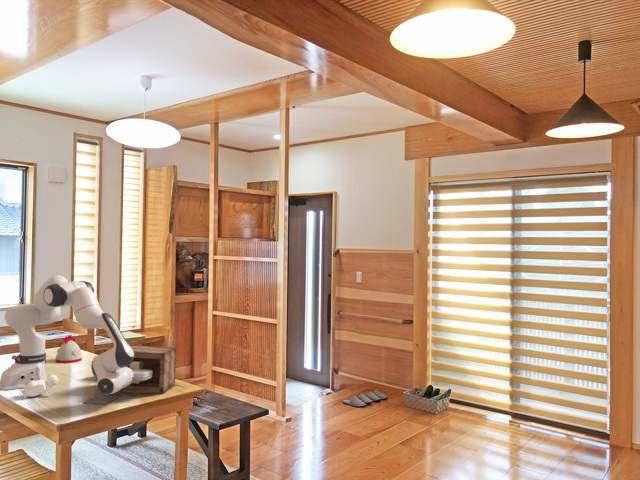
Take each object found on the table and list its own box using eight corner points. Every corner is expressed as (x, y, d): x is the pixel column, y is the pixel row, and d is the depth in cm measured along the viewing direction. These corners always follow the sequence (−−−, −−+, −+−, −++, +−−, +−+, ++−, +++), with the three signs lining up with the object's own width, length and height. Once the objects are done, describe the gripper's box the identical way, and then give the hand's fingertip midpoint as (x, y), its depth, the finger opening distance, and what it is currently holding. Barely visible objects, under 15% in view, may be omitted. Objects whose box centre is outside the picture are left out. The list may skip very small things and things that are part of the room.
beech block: (138, 383, 243) (138, 362, 244) (129, 383, 244) (129, 361, 244) (142, 381, 248) (143, 360, 248) (133, 380, 248) (134, 359, 248)
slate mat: (104, 404, 224) (104, 403, 224) (83, 403, 225) (83, 401, 225) (116, 398, 233) (116, 396, 233) (95, 396, 234) (95, 395, 235)
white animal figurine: (28, 406, 228) (63, 389, 236) (20, 389, 226) (56, 373, 234) (26, 401, 235) (60, 385, 243) (18, 385, 233) (53, 369, 241)
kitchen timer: (50, 362, 298) (51, 336, 298) (68, 357, 311) (69, 332, 312) (69, 364, 294) (70, 338, 294) (87, 359, 307) (87, 334, 307)
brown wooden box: (163, 394, 242) (164, 353, 242) (102, 390, 245) (103, 350, 245) (174, 386, 255) (175, 347, 256) (117, 382, 259) (118, 344, 259)
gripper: (145, 371, 232) (158, 364, 246) (102, 369, 234) (117, 362, 248) (145, 385, 232) (157, 377, 246) (101, 383, 234) (116, 375, 248)
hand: (137, 370), depth 247 cm, fingers closed on beech block, 4 cm apart
